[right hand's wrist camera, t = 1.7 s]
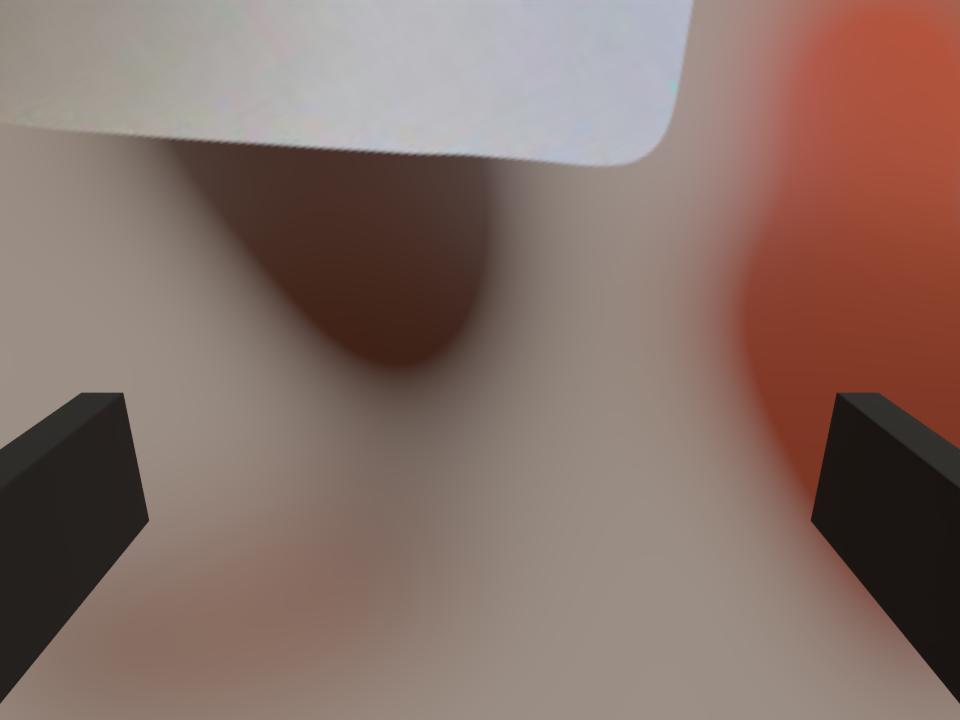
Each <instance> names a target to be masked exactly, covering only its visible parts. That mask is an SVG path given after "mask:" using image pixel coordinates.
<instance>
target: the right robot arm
mask: <svg viewBox="0 0 960 720" xmlns="http://www.w3.org/2000/svg"><path fill="white" fill-rule="evenodd" d="M148 522H149V517H148V513H147V508H146V503H145V498H144V493H143V488H142V483H141V478H140V473H139V468H138V463H137V458H136V453H135V448H134V443H133V439H132V434H131V429H130V424H129V419H128V414H127V409H126V404H125V399H124V394H123V393H80V394H79V395H78V396H76V397H75V398H73V399H72V400H70V401H69V402H68V403H66V404H65V405H63V406H62V407H60V408H59V409H58V410H56V411H55V412H53V413H52V414H50V415H49V416H48V417H46V418H45V419H43V420H42V421H40V422H39V423H38V424H36V425H35V426H33V427H32V428H30V429H29V430H28V431H26V432H25V433H23V434H22V435H20V436H19V437H18V438H16V439H15V440H13V441H12V442H10V443H9V444H7V445H6V446H5V447H3V448H2V449H0V703H1V702H2V701H3V700H4V698H5V697H6V696H7V695H8V693H9V692H10V691H11V690H12V688H13V687H14V686H15V685H16V684H17V682H18V681H19V680H20V679H21V677H22V676H23V675H24V674H25V673H26V671H27V670H28V669H29V668H30V666H31V665H32V664H33V663H34V661H35V660H36V659H37V658H38V657H39V655H40V654H41V653H42V652H43V650H44V649H45V648H46V647H47V645H48V644H49V643H50V642H51V641H52V639H53V638H54V637H55V636H56V634H57V633H58V632H59V631H60V630H61V628H62V627H63V626H64V625H65V623H66V622H67V621H68V620H69V619H70V617H71V616H72V615H73V614H74V612H75V611H76V610H77V609H78V607H79V606H80V605H81V604H82V603H83V601H84V600H85V599H86V598H87V596H88V595H89V594H90V593H91V591H92V590H93V589H94V588H95V587H96V585H97V584H98V583H99V582H100V580H101V579H102V578H103V577H104V576H105V574H106V573H107V572H108V571H109V569H110V568H111V567H112V566H113V564H114V563H115V562H116V561H117V560H118V558H119V557H120V556H121V555H122V553H123V552H124V551H125V550H126V549H127V547H128V546H129V545H130V544H131V542H132V541H133V540H134V539H135V537H136V536H137V535H138V534H139V533H140V531H141V530H142V529H143V528H144V526H145V525H146V524H147V523H148ZM811 522H812V523H813V524H814V525H815V526H816V528H817V529H818V530H819V531H820V533H821V534H822V535H823V536H824V537H825V539H826V540H827V541H828V542H829V544H830V545H831V546H832V547H833V549H834V550H835V551H836V552H837V553H838V555H839V556H840V557H841V558H842V559H843V561H844V562H845V563H846V564H847V566H848V567H849V568H850V569H851V571H852V572H853V573H854V574H855V576H856V577H857V578H858V579H859V580H860V582H861V583H862V584H863V585H864V587H865V588H866V589H867V590H868V591H869V593H870V594H871V595H872V596H873V598H874V599H875V600H876V601H877V603H878V604H879V605H880V606H881V607H882V609H883V610H884V611H885V612H886V614H887V615H888V616H889V617H890V618H891V620H892V621H893V622H894V623H895V625H896V626H897V627H898V628H899V630H900V631H901V632H902V633H903V634H904V636H905V637H906V638H907V639H908V641H909V642H910V643H911V644H912V646H913V647H914V648H915V649H916V650H917V652H918V653H919V654H920V655H921V656H922V658H923V659H924V660H925V661H926V663H927V664H928V665H929V666H930V668H931V669H932V670H933V671H934V673H935V674H936V675H937V676H938V677H939V679H940V680H941V681H942V682H943V684H944V685H945V686H946V687H947V688H948V690H949V691H950V692H951V693H952V695H953V696H954V697H955V698H956V700H957V701H958V702H959V703H960V449H958V448H957V447H955V446H954V445H953V444H951V443H950V442H948V441H947V440H945V439H944V438H943V437H941V436H940V435H938V434H937V433H935V432H934V431H932V430H931V429H930V428H928V427H927V426H925V425H924V424H922V423H921V422H920V421H918V420H917V419H915V418H914V417H912V416H911V415H910V414H908V413H907V412H905V411H904V410H902V409H901V408H900V407H898V406H897V405H895V404H894V403H892V402H891V401H890V400H888V399H887V398H885V397H884V396H882V395H881V394H880V393H837V394H836V399H835V404H834V409H833V414H832V419H831V424H830V429H829V434H828V439H827V443H826V448H825V453H824V458H823V463H822V468H821V473H820V478H819V483H818V488H817V493H816V498H815V503H814V508H813V512H812V517H811Z"/></svg>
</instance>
